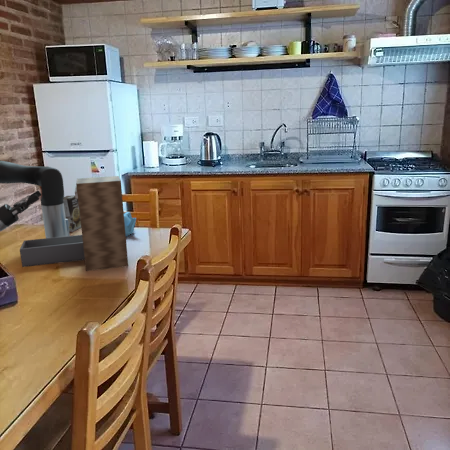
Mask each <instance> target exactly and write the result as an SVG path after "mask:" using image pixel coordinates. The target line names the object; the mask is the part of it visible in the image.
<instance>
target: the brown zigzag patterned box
mask: <svg viewBox="0 0 450 450" xmlns="http://www.w3.org/2000/svg"><path fill="white" fill-rule="evenodd" d="M75 185H76V186H75V189H74V196H75V199H78V204H79V212H80V221H81V228H80V229H81V235H82V238H83V247H84V256H85V260H84V262H85V263H84V264H85V271H86V272H90V271H97V270H106V269H113V268H114V269H115V268H121V267H122V266H123V267H128V266H129V259H128V249H127V236H126V234H125V223H124V213H125V211H124V204H123V203H124V202H123V192H122V191H123V190H122V180H121V178H120V176H119V175H111V176H98V177H83V178H76V184H75Z"/></svg>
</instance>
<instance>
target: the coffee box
mask: <svg viewBox="0 0 450 450" xmlns="http://www.w3.org/2000/svg"><path fill="white" fill-rule="evenodd" d="M63 201H64V209H65V217H66V219H68V226H69V233H70V232H75V231H77V230H79V229H81V221H80V212H79V204H78V199H75V195H66V196H65V195H64V199H63Z"/></svg>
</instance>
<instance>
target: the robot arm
mask: <svg viewBox="0 0 450 450" xmlns="http://www.w3.org/2000/svg"><path fill="white" fill-rule="evenodd" d="M19 183H20V184H29V185H34V186H39V187H41V192H40V190H36V191H35V192H33V193H31V194H30V195H27V196H25V197H23V198H21V199H20V200H18V201H16V202H15V203H13V205H12V206H11V205H9V204H7V203H4V204H2V206H0V232H3V231H4V230H6V229H7V228H9V227H10V226H12V225H13V224H15V223H17V222H18V221H19V216H18V215H20V214H22V213H24V212H25V211H26V210H28V209H29V207H31V206H32V205H33V204H34V203H36V202H37V201H39V200H40V205H41V212H42V213H41V214H42V220H43V227H44V234H45V235H44V236H45V238H54V237H64V236H71V234H70V232H69V226H68V219H66V217H65V209H64V201H63V199H64V197H65V189H64V178H63V175H62V172H61V171H60V170H59V169H57V168H55V167H51V166H45V165H44V166H36V165H35V166H34V165H33V166H32V165H23V164H18V163H14V162H9V161H6V160H5V161H4V160H0V184H3V185H4V184H19ZM40 197H41V198H40Z"/></svg>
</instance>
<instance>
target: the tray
mask: <svg viewBox="0 0 450 450" xmlns="http://www.w3.org/2000/svg"><path fill="white" fill-rule="evenodd" d="M19 254H20V260H21V266H22V267H21V268H25V267H34V266H43V265H53V264H62V263H70V262H77V261H78V262H79V261H85V256H84V247H83V238H82V234H76V235H74V234H73V235H70V236H64V237H54V238H46V237H45V238H37V239H28V240H23V242H22V244H21V246H20V248H19Z"/></svg>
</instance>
